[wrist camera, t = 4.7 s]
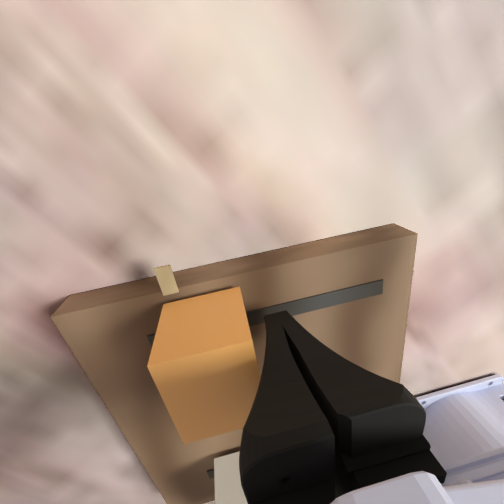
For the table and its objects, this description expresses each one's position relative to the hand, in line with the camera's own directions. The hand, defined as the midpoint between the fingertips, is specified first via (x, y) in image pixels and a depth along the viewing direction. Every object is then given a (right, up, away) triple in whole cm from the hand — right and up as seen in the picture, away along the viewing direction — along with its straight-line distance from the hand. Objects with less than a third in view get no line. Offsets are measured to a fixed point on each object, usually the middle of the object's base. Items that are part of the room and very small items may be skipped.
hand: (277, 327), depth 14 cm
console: (0, -6, +6) cm, 8 cm away
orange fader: (-4, 0, +1) cm, 4 cm away
